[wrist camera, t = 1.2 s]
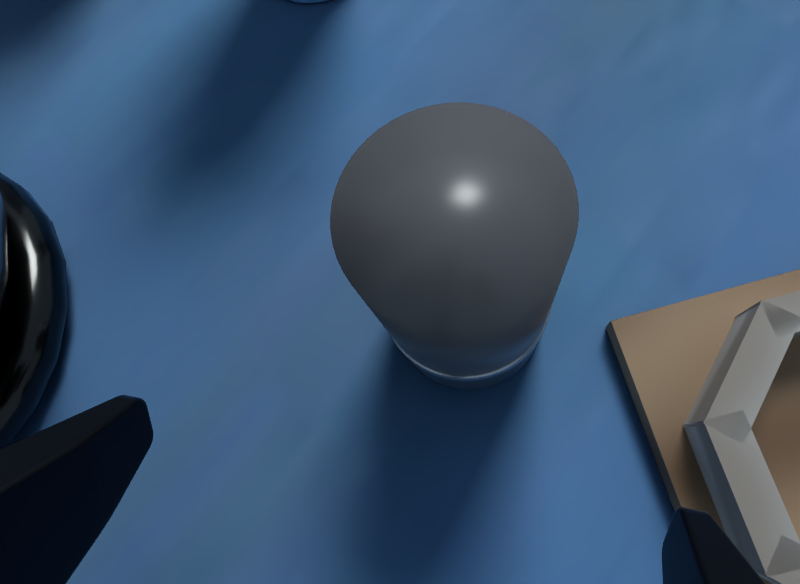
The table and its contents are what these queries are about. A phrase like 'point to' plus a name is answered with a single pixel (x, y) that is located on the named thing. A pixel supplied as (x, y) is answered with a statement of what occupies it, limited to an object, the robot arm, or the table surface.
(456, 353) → the grey dome-topped cylinder
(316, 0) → the beer glass
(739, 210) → the table surface
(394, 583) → the table surface
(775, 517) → the walnut mount board
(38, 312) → the amphora vase
